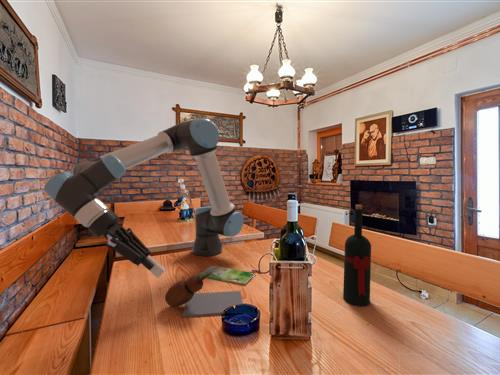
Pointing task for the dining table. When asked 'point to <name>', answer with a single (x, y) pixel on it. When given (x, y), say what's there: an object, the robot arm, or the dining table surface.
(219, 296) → the charcoal rubber mat
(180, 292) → the wooden figurine
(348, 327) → the dining table surface
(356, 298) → the wine bottle
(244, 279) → the green number grid board
